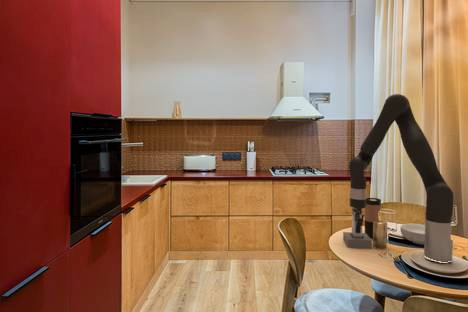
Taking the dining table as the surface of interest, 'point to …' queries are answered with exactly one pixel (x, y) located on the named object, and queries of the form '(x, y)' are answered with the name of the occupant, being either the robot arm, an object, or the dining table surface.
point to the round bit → (380, 234)
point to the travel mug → (371, 214)
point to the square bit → (354, 234)
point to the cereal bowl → (414, 233)
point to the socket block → (357, 241)
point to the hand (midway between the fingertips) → (356, 231)
